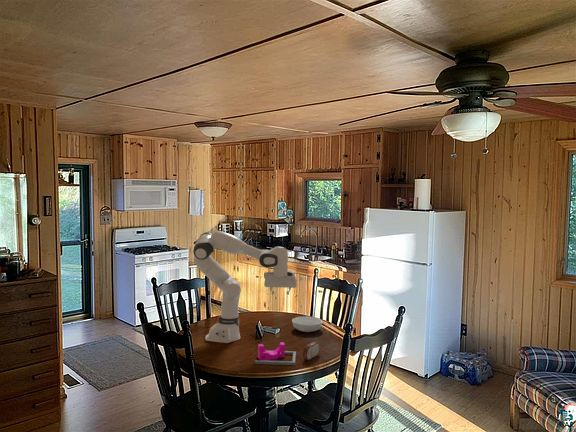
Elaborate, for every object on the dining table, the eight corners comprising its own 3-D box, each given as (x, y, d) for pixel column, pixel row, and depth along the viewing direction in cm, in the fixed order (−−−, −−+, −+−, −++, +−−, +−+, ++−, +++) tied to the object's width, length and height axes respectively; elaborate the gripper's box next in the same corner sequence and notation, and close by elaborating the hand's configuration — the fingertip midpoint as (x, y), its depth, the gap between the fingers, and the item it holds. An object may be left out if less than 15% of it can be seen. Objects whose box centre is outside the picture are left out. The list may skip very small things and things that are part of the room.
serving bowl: (320, 336, 289) (320, 326, 288) (289, 333, 293) (289, 323, 292) (323, 326, 309) (324, 317, 309) (294, 324, 313) (295, 315, 313)
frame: (254, 363, 240) (254, 361, 240) (258, 352, 257) (258, 350, 257) (294, 365, 239) (294, 362, 239) (296, 353, 256) (296, 351, 256)
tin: (315, 353, 258) (316, 339, 257) (320, 354, 256) (320, 340, 256) (302, 361, 245) (302, 346, 245) (306, 362, 244) (307, 347, 243)
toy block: (260, 361, 245) (260, 348, 244) (257, 357, 251) (257, 344, 250) (285, 358, 249) (286, 345, 248) (282, 354, 255) (283, 342, 254)
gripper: (263, 272, 269) (263, 295, 270) (296, 273, 268) (296, 295, 269) (264, 271, 275) (264, 292, 276) (296, 271, 274) (296, 293, 275)
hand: (280, 294), depth 272 cm, fingers open, 8 cm apart
